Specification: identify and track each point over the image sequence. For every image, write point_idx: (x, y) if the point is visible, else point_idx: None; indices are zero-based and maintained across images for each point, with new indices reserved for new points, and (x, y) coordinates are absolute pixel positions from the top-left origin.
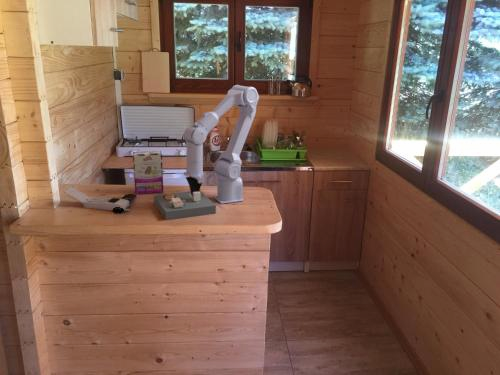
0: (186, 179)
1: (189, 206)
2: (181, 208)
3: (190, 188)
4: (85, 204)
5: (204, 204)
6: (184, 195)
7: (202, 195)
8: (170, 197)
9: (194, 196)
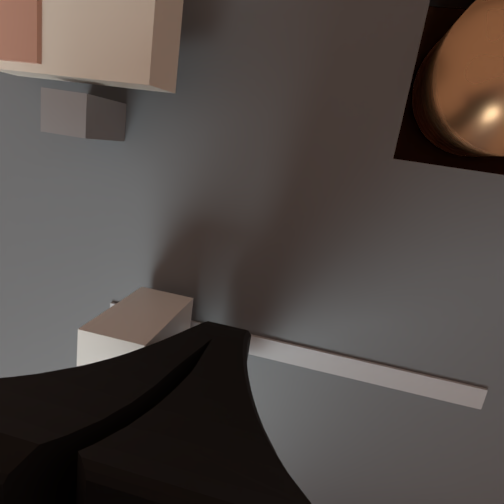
0: (292, 489)
1: (47, 169)
2: None
3: (194, 367)
4: None
5: (48, 338)
6: (446, 307)
7: (315, 479)
8: (439, 52)
9: (107, 313)
